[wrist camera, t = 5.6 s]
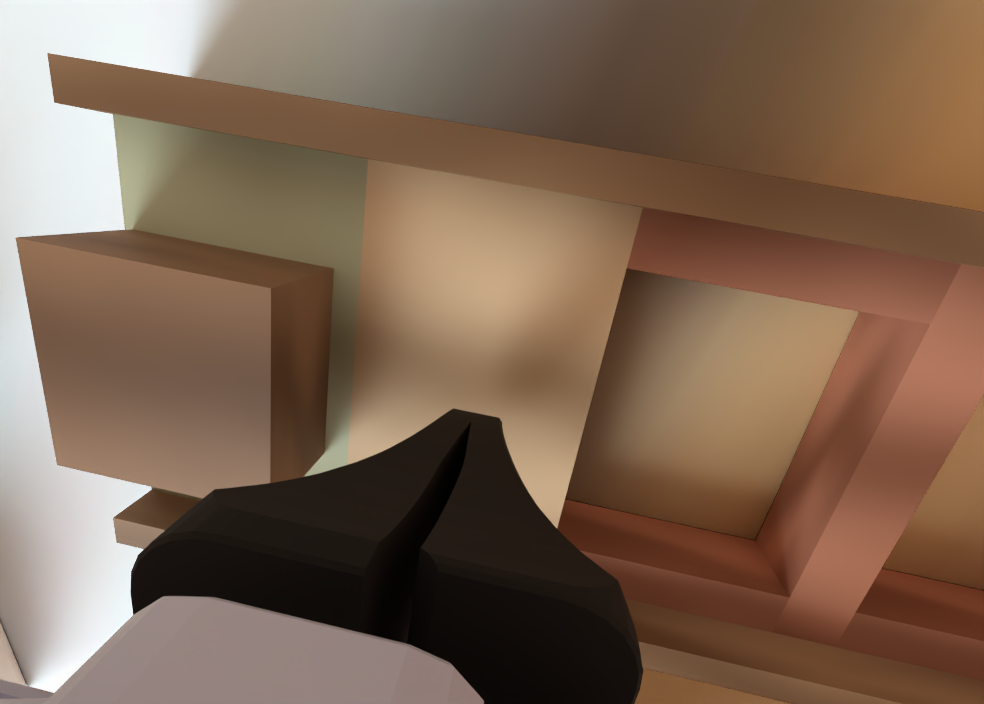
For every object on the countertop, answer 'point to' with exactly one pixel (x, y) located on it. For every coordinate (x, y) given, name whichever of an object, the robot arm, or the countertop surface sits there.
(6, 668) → the medicine bottle
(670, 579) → the box
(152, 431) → the walnut block
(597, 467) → the countertop surface
